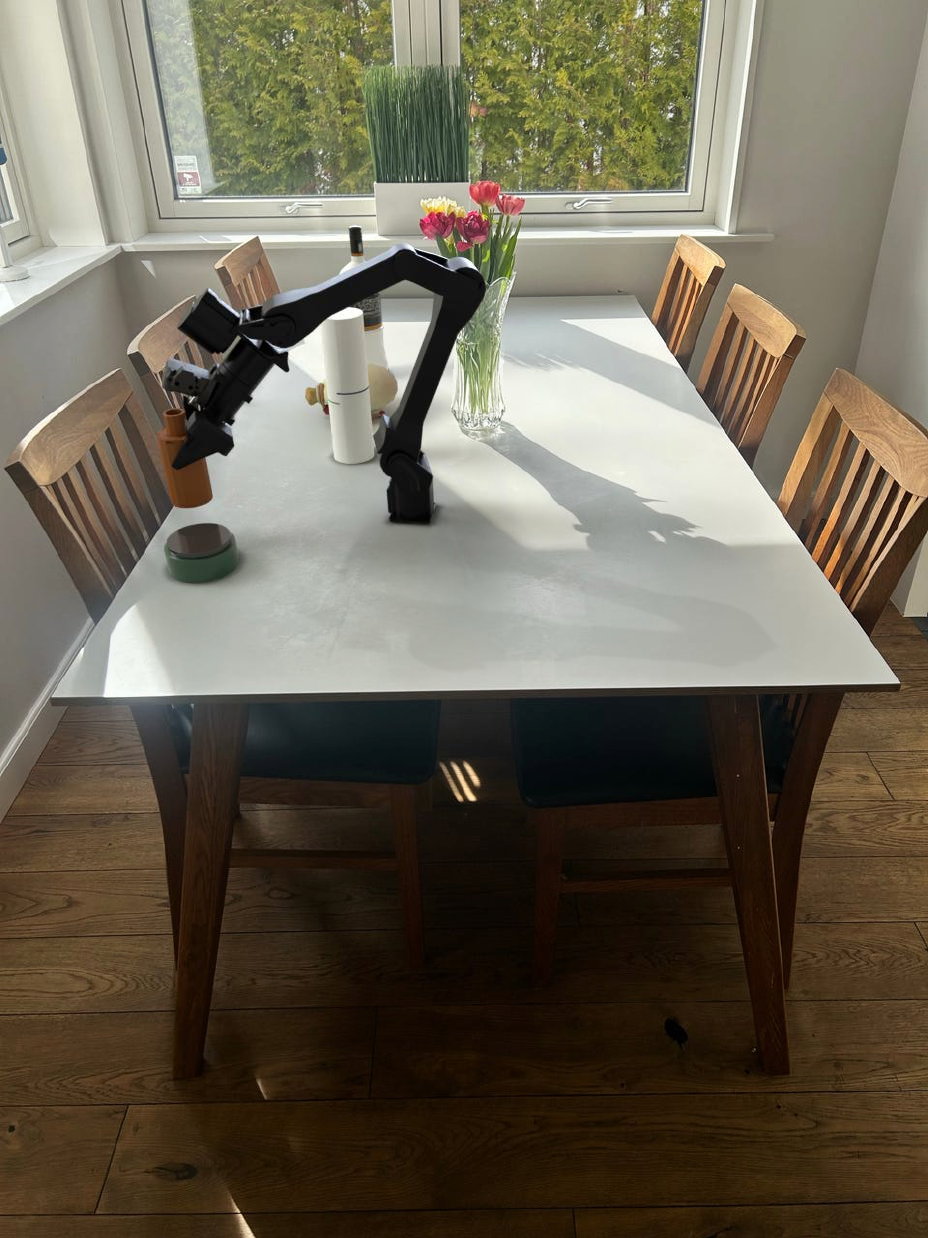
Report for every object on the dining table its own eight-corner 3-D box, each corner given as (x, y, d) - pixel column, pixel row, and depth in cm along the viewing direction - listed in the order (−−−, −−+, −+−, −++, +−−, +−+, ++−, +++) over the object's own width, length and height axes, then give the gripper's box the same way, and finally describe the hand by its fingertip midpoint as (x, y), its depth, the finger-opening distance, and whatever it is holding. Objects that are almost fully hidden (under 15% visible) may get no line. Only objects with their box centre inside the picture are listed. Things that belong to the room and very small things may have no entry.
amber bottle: (219, 491, 141) (202, 404, 134) (203, 509, 137) (185, 421, 129) (181, 489, 142) (163, 403, 135) (164, 507, 137) (144, 419, 130)
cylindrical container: (367, 465, 164) (355, 320, 151) (328, 462, 166) (312, 318, 152) (379, 448, 170) (368, 307, 156) (341, 446, 171) (327, 306, 158)
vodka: (370, 363, 209) (358, 219, 192) (397, 373, 203) (388, 225, 187) (337, 374, 204) (322, 226, 187) (364, 384, 198) (351, 233, 181)
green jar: (249, 550, 140) (244, 523, 138) (224, 585, 132) (219, 557, 130) (185, 546, 142) (179, 519, 139) (157, 580, 134) (150, 553, 131)
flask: (409, 422, 180) (315, 438, 176) (391, 394, 192) (304, 408, 189) (403, 375, 174) (307, 390, 171) (386, 349, 187) (296, 363, 184)
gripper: (187, 319, 135) (124, 403, 139) (192, 360, 120) (121, 452, 124) (251, 367, 141) (189, 446, 145) (263, 411, 126) (194, 498, 130)
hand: (173, 459), depth 136 cm, fingers closed on amber bottle, 6 cm apart
